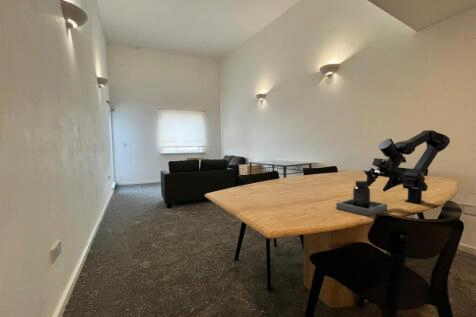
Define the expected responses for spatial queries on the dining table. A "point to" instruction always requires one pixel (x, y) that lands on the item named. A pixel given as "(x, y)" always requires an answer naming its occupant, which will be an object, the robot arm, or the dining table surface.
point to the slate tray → (373, 210)
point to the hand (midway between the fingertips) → (374, 189)
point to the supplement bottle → (361, 195)
